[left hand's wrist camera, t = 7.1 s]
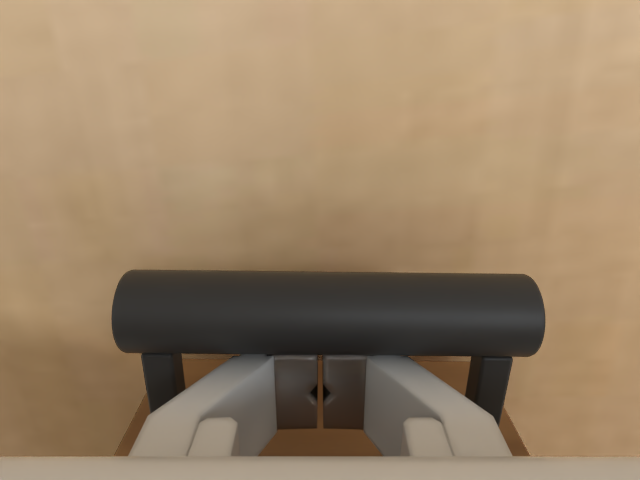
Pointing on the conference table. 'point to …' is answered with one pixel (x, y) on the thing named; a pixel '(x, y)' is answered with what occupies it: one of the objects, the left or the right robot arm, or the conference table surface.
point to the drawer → (328, 334)
